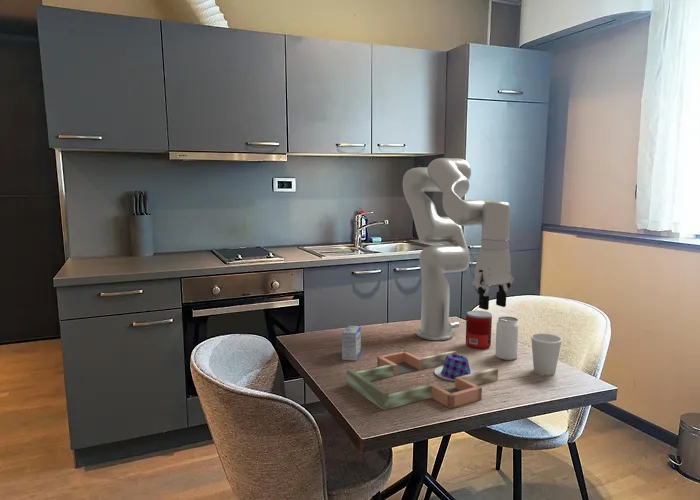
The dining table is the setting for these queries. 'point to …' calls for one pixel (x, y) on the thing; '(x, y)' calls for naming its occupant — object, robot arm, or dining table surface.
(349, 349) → the medicine box
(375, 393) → the track
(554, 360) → the dixie cup
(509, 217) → the robot arm
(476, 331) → the canned food
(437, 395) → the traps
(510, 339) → the can
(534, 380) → the dining table surface
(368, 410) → the dining table surface
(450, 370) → the pudding
